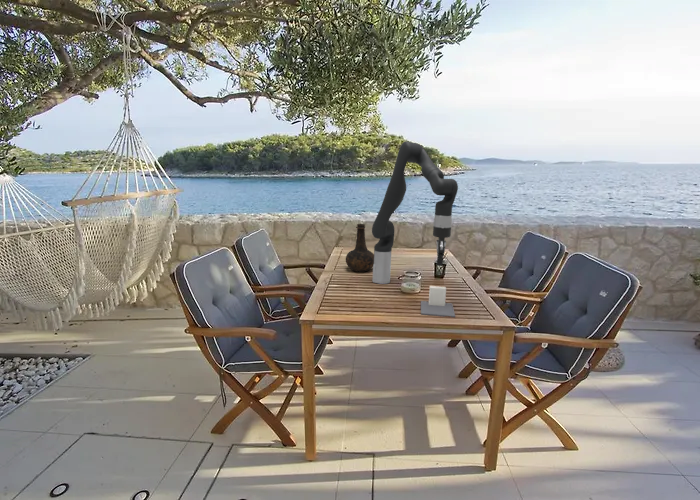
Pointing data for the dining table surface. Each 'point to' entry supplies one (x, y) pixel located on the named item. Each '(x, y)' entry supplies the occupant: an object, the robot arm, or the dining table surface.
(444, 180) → the robot arm
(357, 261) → the glass bottle
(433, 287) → the white block copper side
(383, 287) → the dining table surface
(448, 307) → the mat
